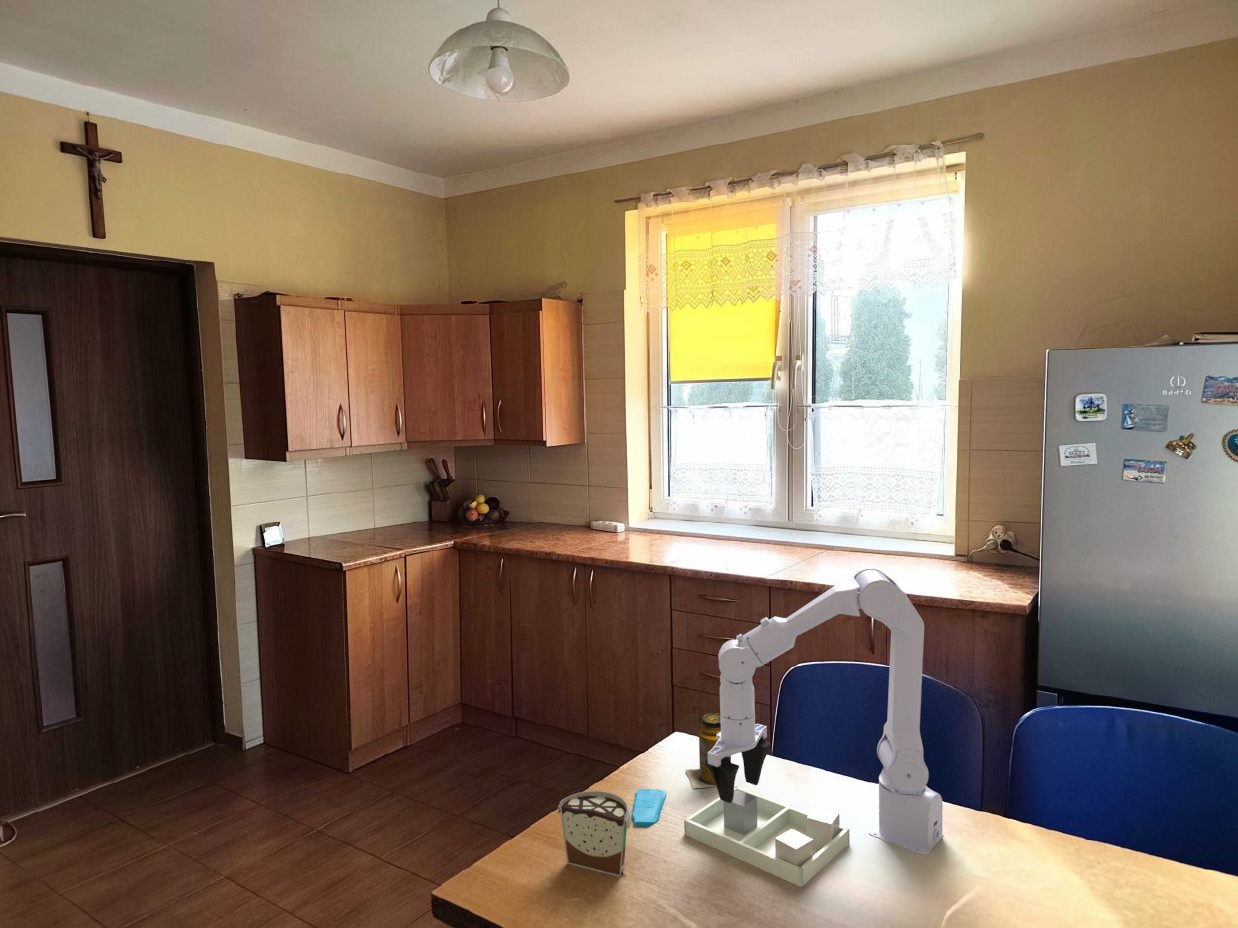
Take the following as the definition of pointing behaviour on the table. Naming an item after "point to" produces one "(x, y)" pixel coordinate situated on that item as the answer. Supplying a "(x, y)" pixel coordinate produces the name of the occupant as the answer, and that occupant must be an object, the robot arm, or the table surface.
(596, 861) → the food container
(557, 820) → the table surface
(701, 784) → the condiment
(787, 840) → the white block
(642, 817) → the sponge
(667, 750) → the table surface
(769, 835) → the tray
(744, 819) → the grey rectangular block
